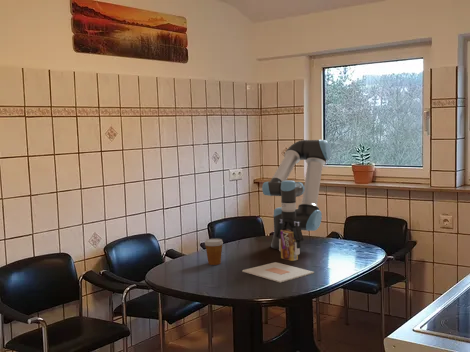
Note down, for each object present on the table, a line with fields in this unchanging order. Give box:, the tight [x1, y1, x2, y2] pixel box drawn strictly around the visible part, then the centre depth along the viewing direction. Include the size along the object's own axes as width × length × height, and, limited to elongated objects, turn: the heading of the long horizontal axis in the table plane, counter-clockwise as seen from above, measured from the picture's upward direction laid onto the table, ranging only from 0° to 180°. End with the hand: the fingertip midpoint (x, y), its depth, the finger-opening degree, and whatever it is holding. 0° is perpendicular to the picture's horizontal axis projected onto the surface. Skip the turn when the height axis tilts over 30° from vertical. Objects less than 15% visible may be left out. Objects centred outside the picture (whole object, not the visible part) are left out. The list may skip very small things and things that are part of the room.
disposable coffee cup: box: [204, 238, 224, 266], centre depth 280 cm, size 10×10×12 cm
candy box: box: [280, 229, 299, 262], centre depth 285 cm, size 9×4×15 cm, turn 39°
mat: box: [242, 261, 315, 283], centre depth 261 cm, size 26×22×1 cm
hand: (289, 252), depth 285 cm, fingers open, 11 cm apart
